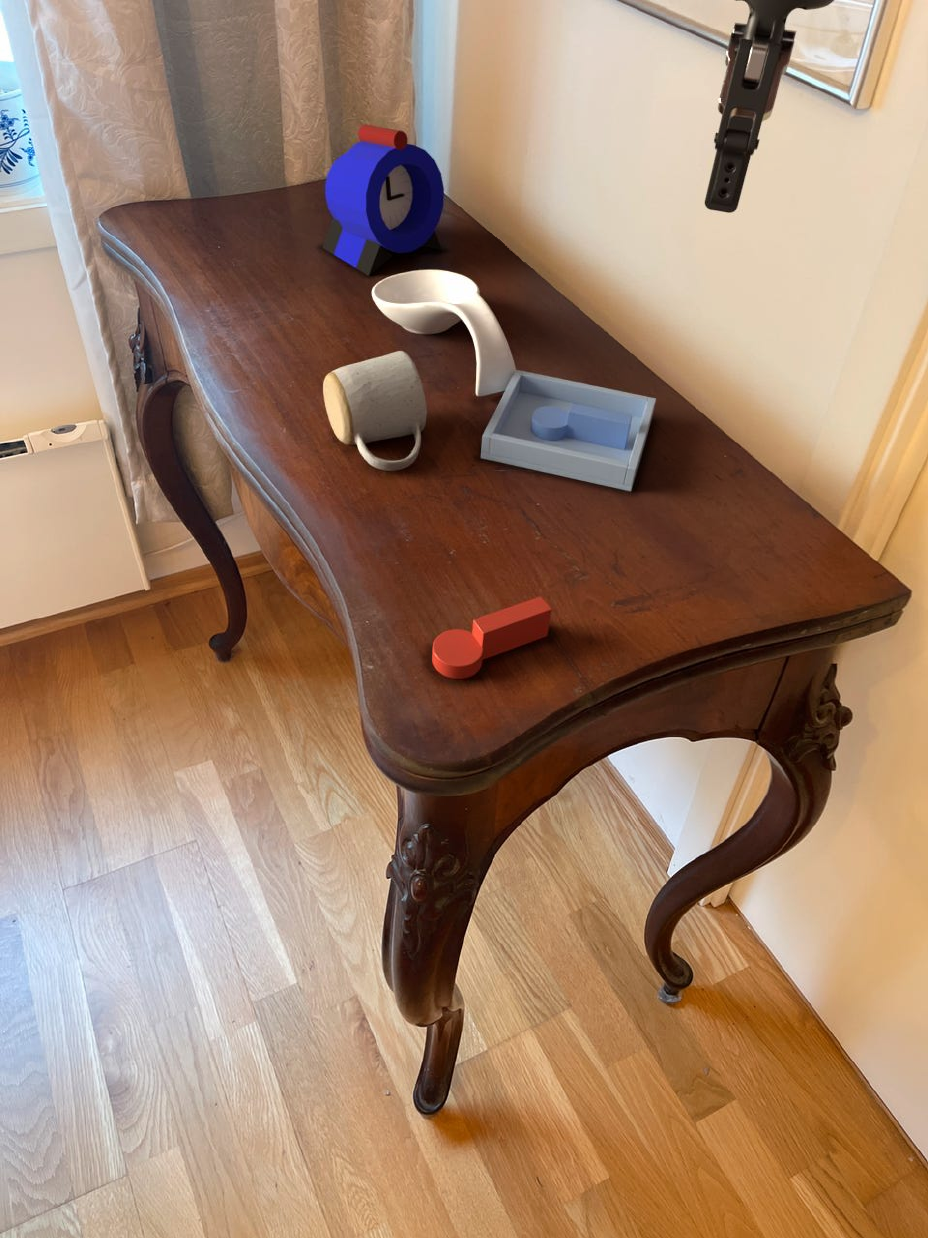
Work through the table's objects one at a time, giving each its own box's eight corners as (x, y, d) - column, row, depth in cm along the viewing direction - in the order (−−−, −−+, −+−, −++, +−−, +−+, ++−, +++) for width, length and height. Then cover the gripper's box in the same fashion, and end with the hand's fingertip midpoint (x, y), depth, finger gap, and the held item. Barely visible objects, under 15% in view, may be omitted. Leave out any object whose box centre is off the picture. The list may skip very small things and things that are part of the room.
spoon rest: (357, 308, 109) (353, 248, 104) (446, 289, 113) (447, 229, 108) (450, 409, 95) (450, 344, 90) (549, 382, 99) (555, 319, 94)
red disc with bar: (529, 614, 75) (533, 587, 73) (554, 645, 73) (559, 618, 71) (423, 651, 71) (424, 624, 69) (446, 686, 69) (448, 658, 67)
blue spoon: (629, 435, 92) (634, 409, 90) (622, 456, 90) (628, 430, 88) (535, 415, 94) (539, 389, 92) (526, 435, 91) (530, 409, 89)
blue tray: (651, 420, 96) (656, 398, 94) (631, 491, 87) (636, 469, 85) (513, 391, 98) (515, 369, 96) (480, 458, 89) (482, 435, 87)
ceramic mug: (320, 421, 92) (316, 351, 86) (397, 404, 95) (398, 335, 89) (360, 484, 86) (359, 413, 80) (441, 464, 88) (445, 394, 83)
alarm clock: (371, 277, 114) (369, 147, 103) (312, 241, 120) (305, 115, 109) (447, 252, 120) (452, 126, 109) (387, 219, 126) (387, 97, 116)
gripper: (863, -71, 49) (773, 235, 61) (862, -109, 59) (784, 161, 70) (720, -88, 50) (658, 215, 62) (742, -123, 60) (685, 145, 72)
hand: (725, 186), depth 66 cm, fingers open, 8 cm apart
